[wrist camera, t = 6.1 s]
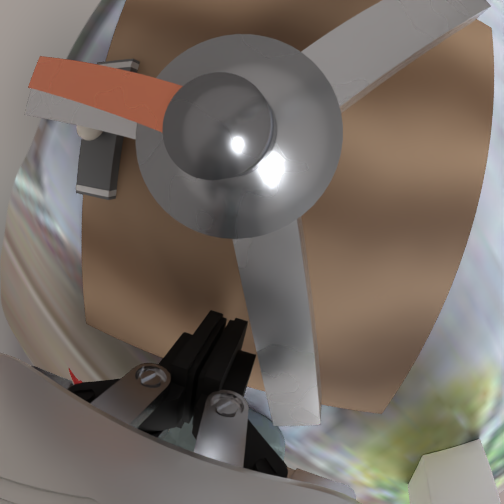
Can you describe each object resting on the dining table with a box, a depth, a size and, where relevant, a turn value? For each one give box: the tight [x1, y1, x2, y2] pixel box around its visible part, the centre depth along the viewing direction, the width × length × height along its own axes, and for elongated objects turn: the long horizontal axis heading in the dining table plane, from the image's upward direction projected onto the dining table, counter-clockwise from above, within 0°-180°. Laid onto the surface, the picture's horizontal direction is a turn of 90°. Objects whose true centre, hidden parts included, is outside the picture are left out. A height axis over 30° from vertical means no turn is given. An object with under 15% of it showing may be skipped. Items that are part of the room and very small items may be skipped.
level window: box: [76, 59, 140, 200], centre depth 12 cm, size 7×2×1 cm, turn 168°
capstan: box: [25, 0, 491, 426], centre depth 8 cm, size 16×18×6 cm
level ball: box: [77, 125, 103, 141], centre depth 11 cm, size 1×1×1 cm
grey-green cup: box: [162, 409, 285, 461], centre depth 13 cm, size 10×10×12 cm
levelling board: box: [82, 0, 494, 414], centre depth 12 cm, size 22×19×2 cm
